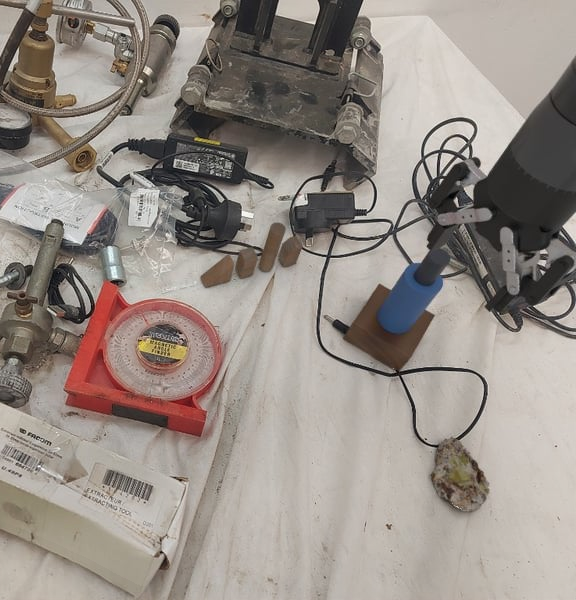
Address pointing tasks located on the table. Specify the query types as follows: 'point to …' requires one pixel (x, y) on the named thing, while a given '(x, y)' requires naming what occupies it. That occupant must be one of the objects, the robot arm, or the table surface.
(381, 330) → the walnut block
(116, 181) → the table surface
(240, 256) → the wood blocks
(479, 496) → the mineral rock
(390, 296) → the bottle
